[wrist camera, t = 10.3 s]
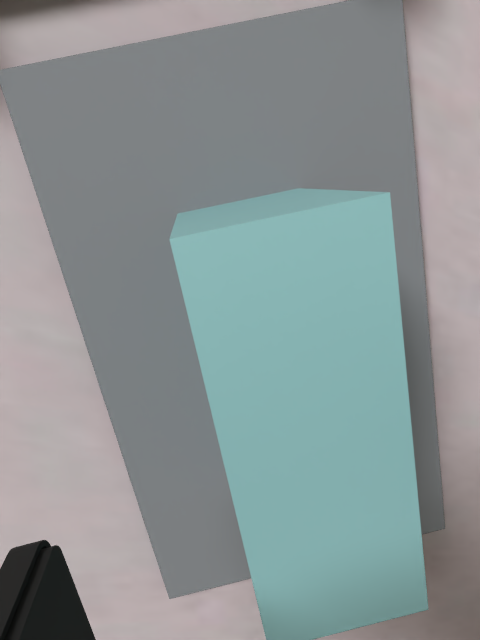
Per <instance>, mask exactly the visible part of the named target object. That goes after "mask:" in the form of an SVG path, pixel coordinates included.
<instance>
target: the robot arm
mask: <svg viewBox="0 0 480 640" xmlns="http://www.w3.org/2000/svg"><path fill="white" fill-rule="evenodd" d="M0 640H96V639H95V637H94V634H93V632H92V629H91V626H90V624H89V621H88V618H87V616H86V613H85V611H84V608H83V605H82V603H81V600H80V598H79V595H78V592H77V590H76V587H75V584H74V582H73V579H72V577H71V574H70V571H69V569H68V566H67V564H66V561H65V558H64V556H63V553H62V551H61V549H60V547H59V546H56V545H55V546H52V547H51V545H50V544H49V542H48V541H46V540H41V541H38V542H34V543H30V544H26V545H22V546H19V547H15V548H13V549H11V550H10V551H9V553H8V554H7V556H6V559H5V561H4V563H3V565H2V567H1V569H0Z"/></svg>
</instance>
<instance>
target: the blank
mask: <svg viewBox="0 0 480 640" xmlns="http://www.w3.org/2000/svg"><path fill="white" fill-rule="evenodd" d="M170 244H171V248H172V252H173V256H174V260H175V264H176V268H177V273H178V277H179V281H180V285H181V289H182V293H183V297H184V301H185V306H186V310H187V314H188V318H189V322H190V326H191V330H192V334H193V339H194V343H195V347H196V351H197V355H198V359H199V363H200V368H201V372H202V376H203V380H204V384H205V388H206V392H207V396H208V401H209V405H210V409H211V413H212V417H213V421H214V425H215V429H216V434H217V438H218V442H219V446H220V450H221V454H222V458H223V462H224V467H225V471H226V475H227V479H228V483H229V487H230V491H231V496H232V500H233V504H234V508H235V512H236V516H237V520H238V524H239V529H240V533H241V537H242V541H243V545H244V549H245V553H246V557H247V562H248V566H249V570H250V574H251V578H252V582H253V586H254V590H255V595H256V599H257V603H258V607H259V611H260V615H261V619H262V624H263V628H264V632H265V636H266V640H313V639H317V638H320V637H324V636H328V635H332V634H336V633H340V632H344V631H348V630H351V629H355V628H359V627H363V626H367V625H371V624H375V623H378V622H382V621H386V620H390V619H394V618H398V617H402V616H406V615H409V614H413V613H417V612H421V611H425V610H428V599H427V588H426V577H425V567H424V556H423V545H422V534H421V523H420V512H419V502H418V491H417V480H416V469H415V458H414V447H413V437H412V426H411V415H410V404H409V393H408V382H407V372H406V361H405V350H404V339H403V328H402V317H401V307H400V296H399V285H398V274H397V263H396V252H395V242H394V231H393V220H392V209H391V198H390V192H371V191H348V190H326V189H304V188H298V189H293V190H288V191H283V192H279V193H274V194H269V195H264V196H260V197H255V198H250V199H245V200H240V201H236V202H231V203H226V204H221V205H217V206H212V207H207V208H202V209H197V210H193V211H188V212H183V213H178V214H177V217H176V220H175V223H174V226H173V229H172V232H171V236H170Z"/></svg>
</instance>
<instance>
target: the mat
mask: <svg viewBox="0 0 480 640" xmlns="http://www.w3.org/2000/svg"><path fill="white" fill-rule="evenodd" d="M0 85H1V88H2V91H3V94H4V97H5V100H6V103H7V106H8V109H9V112H10V115H11V118H12V121H13V124H14V127H15V130H16V133H17V137H18V140H19V143H20V146H21V149H22V152H23V155H24V158H25V161H26V164H27V167H28V170H29V173H30V176H31V179H32V182H33V185H34V188H35V191H36V194H37V197H38V200H39V203H40V207H41V210H42V213H43V216H44V219H45V222H46V225H47V228H48V231H49V234H50V237H51V240H52V243H53V246H54V249H55V252H56V255H57V258H58V261H59V264H60V267H61V270H62V273H63V276H64V280H65V283H66V286H67V289H68V292H69V295H70V298H71V301H72V304H73V307H74V310H75V313H76V316H77V319H78V322H79V325H80V328H81V331H82V334H83V337H84V340H85V343H86V346H87V349H88V353H89V356H90V359H91V362H92V365H93V368H94V371H95V374H96V377H97V380H98V383H99V386H100V389H101V392H102V395H103V398H104V401H105V404H106V407H107V410H108V413H109V416H110V419H111V422H112V426H113V429H114V432H115V435H116V438H117V441H118V444H119V447H120V450H121V453H122V456H123V459H124V462H125V465H126V468H127V471H128V474H129V477H130V480H131V483H132V486H133V489H134V492H135V496H136V499H137V502H138V505H139V508H140V511H141V514H142V517H143V520H144V523H145V526H146V529H147V532H148V535H149V538H150V541H151V544H152V547H153V550H154V553H155V556H156V559H157V562H158V565H159V569H160V572H161V575H162V578H163V581H164V584H165V587H166V590H167V593H168V596H169V599H172V598H176V597H180V596H184V595H187V594H191V593H195V592H199V591H203V590H207V589H211V588H215V587H219V586H223V585H227V584H230V583H234V582H238V581H242V580H246V579H250V578H251V574H250V570H249V566H248V562H247V557H246V553H245V549H244V545H243V541H242V537H241V533H240V529H239V524H238V520H237V516H236V512H235V508H234V504H233V500H232V496H231V491H230V487H229V483H228V479H227V475H226V471H225V467H224V462H223V458H222V454H221V450H220V446H219V442H218V438H217V434H216V429H215V425H214V421H213V417H212V413H211V409H210V405H209V401H208V396H207V392H206V388H205V384H204V380H203V376H202V372H201V368H200V363H199V359H198V355H197V351H196V347H195V343H194V339H193V334H192V330H191V326H190V322H189V318H188V314H187V310H186V306H185V301H184V297H183V293H182V289H181V285H180V281H179V277H178V273H177V268H176V264H175V260H174V256H173V252H172V248H171V244H170V236H171V232H172V229H173V226H174V223H175V220H176V217H177V214H178V213H183V212H188V211H193V210H197V209H202V208H207V207H212V206H217V205H221V204H226V203H231V202H236V201H240V200H245V199H250V198H255V197H260V196H264V195H269V194H274V193H279V192H283V191H288V190H293V189H298V188H304V189H326V190H348V191H371V192H390V198H391V209H392V220H393V231H394V242H395V252H396V263H397V274H398V285H399V296H400V307H401V317H402V328H403V339H404V350H405V361H406V372H407V382H408V393H409V404H410V415H411V426H412V437H413V447H414V458H415V469H416V480H417V491H418V502H419V512H420V523H421V534H426V533H430V532H434V531H438V530H441V529H445V521H444V508H443V496H442V484H441V471H440V459H439V447H438V434H437V422H436V410H435V397H434V385H433V373H432V361H431V348H430V336H429V324H428V311H427V299H426V287H425V274H424V262H423V250H422V237H421V225H420V213H419V200H418V188H417V176H416V164H415V151H414V139H413V127H412V114H411V102H410V90H409V77H408V65H407V53H406V40H405V28H404V16H403V3H402V0H349V1H344V2H339V3H334V4H329V5H324V6H319V7H314V8H309V9H304V10H299V11H294V12H289V13H284V14H279V15H274V16H269V17H264V18H259V19H254V20H249V21H244V22H239V23H234V24H229V25H224V26H218V27H213V28H208V29H203V30H198V31H193V32H188V33H183V34H178V35H173V36H168V37H163V38H158V39H153V40H148V41H143V42H138V43H133V44H128V45H123V46H118V47H113V48H108V49H103V50H98V51H93V52H88V53H83V54H78V55H73V56H68V57H63V58H58V59H53V60H47V61H42V62H37V63H32V64H27V65H22V66H17V67H12V68H7V69H2V70H0Z"/></svg>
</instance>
